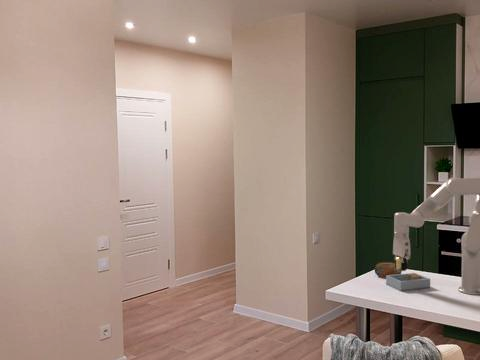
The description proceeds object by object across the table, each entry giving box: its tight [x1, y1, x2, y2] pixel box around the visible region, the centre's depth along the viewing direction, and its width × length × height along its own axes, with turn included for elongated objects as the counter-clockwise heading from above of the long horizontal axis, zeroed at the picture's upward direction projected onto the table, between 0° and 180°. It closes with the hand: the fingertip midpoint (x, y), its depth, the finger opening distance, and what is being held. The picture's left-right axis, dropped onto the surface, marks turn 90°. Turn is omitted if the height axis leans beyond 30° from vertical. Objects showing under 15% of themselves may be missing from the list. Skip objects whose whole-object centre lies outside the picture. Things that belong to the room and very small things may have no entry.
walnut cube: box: [407, 273, 422, 281], centre depth 267 cm, size 5×5×5 cm
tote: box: [385, 272, 431, 292], centre depth 266 cm, size 14×18×5 cm
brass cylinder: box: [396, 256, 407, 272], centre depth 264 cm, size 5×5×7 cm
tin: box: [374, 262, 403, 278], centre depth 286 cm, size 15×3×8 cm, turn 73°
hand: (400, 268), depth 264 cm, fingers closed on brass cylinder, 5 cm apart
